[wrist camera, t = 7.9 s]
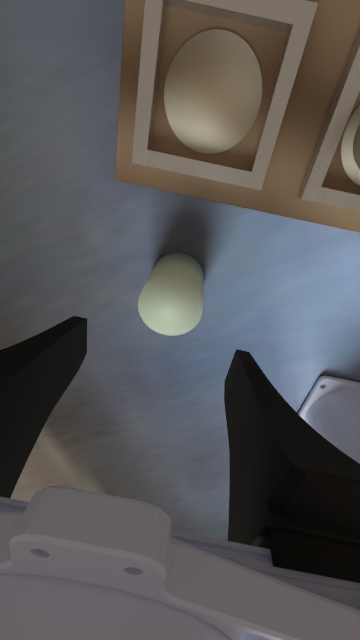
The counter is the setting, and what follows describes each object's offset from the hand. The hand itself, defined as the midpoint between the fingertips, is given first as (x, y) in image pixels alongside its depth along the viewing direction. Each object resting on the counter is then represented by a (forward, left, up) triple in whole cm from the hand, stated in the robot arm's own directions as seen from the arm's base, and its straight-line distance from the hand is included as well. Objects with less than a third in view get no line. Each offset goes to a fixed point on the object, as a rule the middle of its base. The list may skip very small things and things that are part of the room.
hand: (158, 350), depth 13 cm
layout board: (+11, -5, -9) cm, 15 cm away
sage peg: (0, 0, -9) cm, 9 cm away
